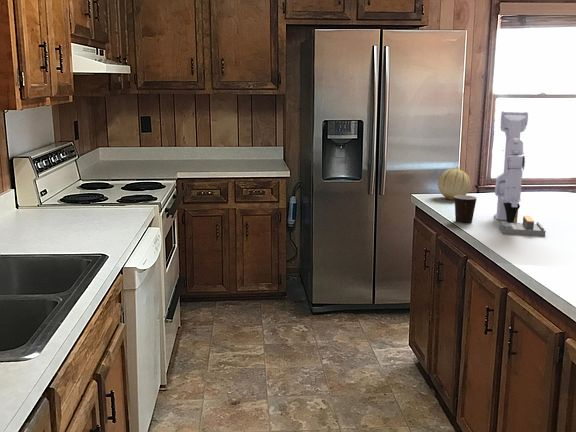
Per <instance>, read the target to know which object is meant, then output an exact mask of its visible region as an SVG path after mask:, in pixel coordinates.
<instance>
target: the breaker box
mask: <svg viewBox="0 0 576 432" xmlns="http://www.w3.org/2000/svg"><path fill="white" fill-rule="evenodd" d="M498 228H499V230H500V233H501V234H502V235H511V236H512V235H514V236H517V235H518V236H530V237H531V236H533V237H534V236H535V237H546V231H547V230H545V228H544V227H543V226H542V224H541V223H540V222H539V221H538V222H536V223H534V228H533V229H526V227H525V226H524V224H523V222H521V223H520V222H517V223H508V222H507V221H506V222H505V221H504V220H499V223H498Z"/></svg>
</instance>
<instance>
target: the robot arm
mask: <svg viewBox="0 0 576 432" xmlns="http://www.w3.org/2000/svg"><path fill="white" fill-rule="evenodd" d="M528 120H529V113H528V111H527V110H505V109H504V110H502V111H501V113H500V127H499V128H500V131H501V132H503V133H504V134H505V147H504V148H505V151H504V152H505V153H504V162H503V164H504V165H503V173H501V174H499V175H497V177H495V178H496V179H495V184H494V185H495V187H494V194H495V196H496V197H497V203H496V204H497V207H496V213H494V214H493V216H494V218H495V220H496V221H506V223H513V222H514V219H515V215H516V213H517V211H518V212H519V209H520V208H521V205H520V202H521V199H522V198H521V194H522V182H523V171H524V170H525V166H526V165H525V164H526V158H525V157H526V155H525V153H524V143H523V141H522V140H521V133H522V132H523V133H524V132H525V130H526V128H527V126H528Z"/></svg>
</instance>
